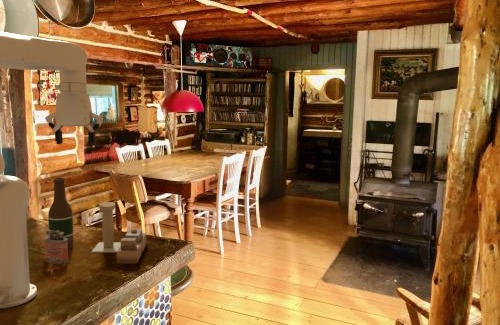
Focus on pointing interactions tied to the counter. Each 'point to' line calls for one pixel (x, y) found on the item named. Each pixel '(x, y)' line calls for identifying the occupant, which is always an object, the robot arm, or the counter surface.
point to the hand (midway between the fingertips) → (75, 144)
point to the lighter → (56, 247)
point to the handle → (107, 223)
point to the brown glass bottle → (61, 212)
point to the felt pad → (101, 249)
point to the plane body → (131, 246)
